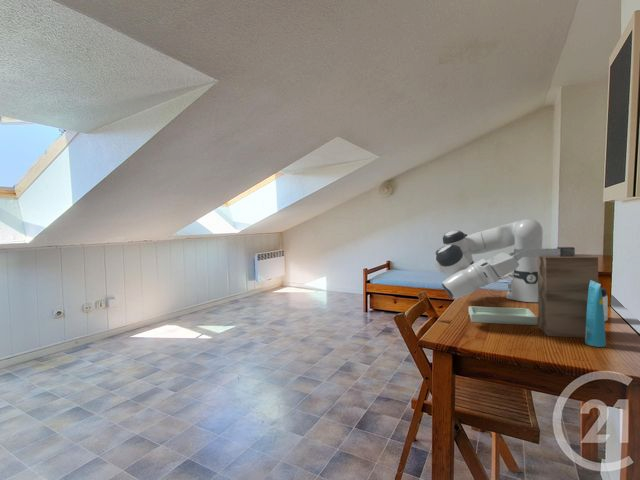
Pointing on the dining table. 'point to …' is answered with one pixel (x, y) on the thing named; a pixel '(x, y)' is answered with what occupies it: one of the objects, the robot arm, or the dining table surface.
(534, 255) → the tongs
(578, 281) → the stand
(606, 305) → the jar
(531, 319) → the tray
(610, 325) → the dining table surface
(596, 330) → the tube
